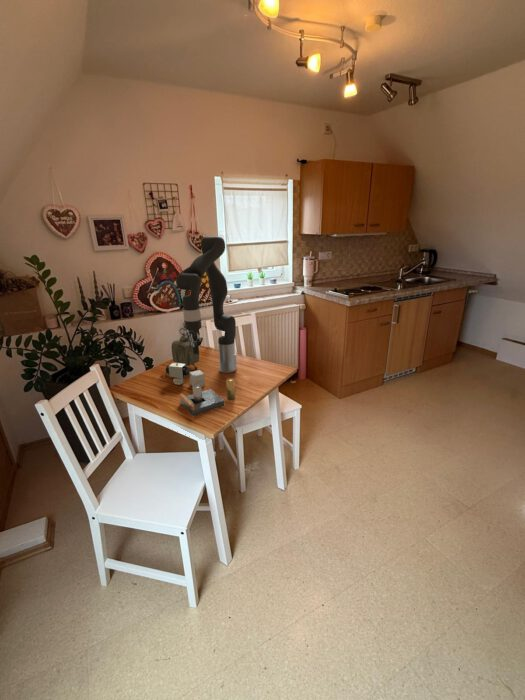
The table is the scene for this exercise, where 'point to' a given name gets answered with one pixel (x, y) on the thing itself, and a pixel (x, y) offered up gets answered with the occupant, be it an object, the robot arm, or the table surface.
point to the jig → (209, 402)
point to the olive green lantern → (184, 351)
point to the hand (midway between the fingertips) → (196, 353)
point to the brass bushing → (230, 389)
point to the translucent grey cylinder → (197, 394)
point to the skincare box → (197, 378)
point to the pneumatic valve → (177, 372)
